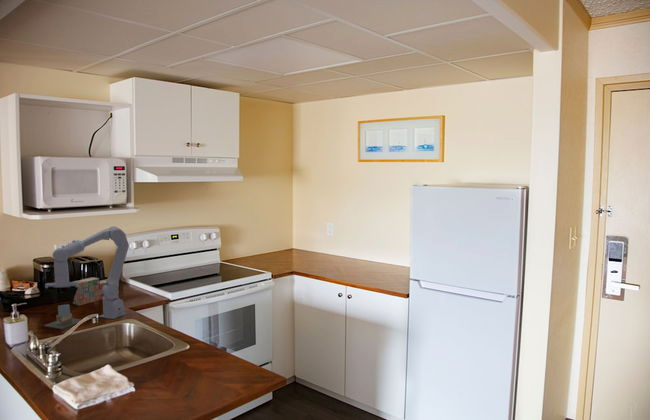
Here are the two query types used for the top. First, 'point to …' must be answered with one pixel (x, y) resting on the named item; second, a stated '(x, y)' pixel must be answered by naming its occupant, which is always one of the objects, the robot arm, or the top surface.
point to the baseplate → (60, 326)
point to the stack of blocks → (89, 291)
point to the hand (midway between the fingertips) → (63, 302)
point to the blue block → (64, 310)
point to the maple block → (64, 319)
